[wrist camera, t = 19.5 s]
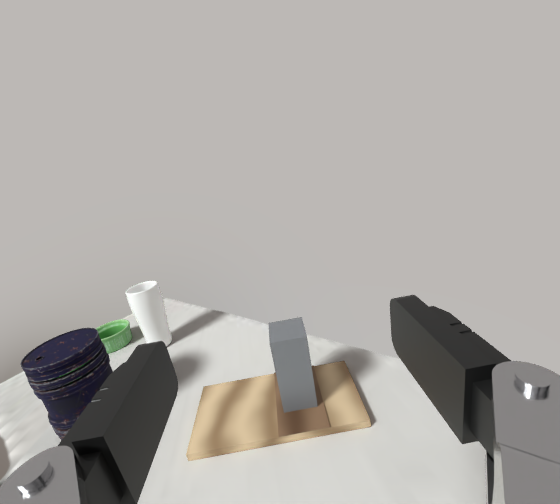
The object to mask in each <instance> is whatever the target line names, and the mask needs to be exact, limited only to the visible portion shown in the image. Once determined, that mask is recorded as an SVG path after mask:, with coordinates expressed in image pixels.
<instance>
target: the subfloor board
mask: <svg viewBox="0 0 560 504" xmlns="http://www.w3.org/2000/svg"><path fill="white" fill-rule="evenodd" d="M311 367H312V373H313V379H314V386H315V392H316V399H317V405H318V407H313V408H307V409H302V410H296V411H291V412H285V413H284V411H283V406H282V401H281V396H280V391H279V386H278V381H277V376H276V372H275V373H274V374H270V375H264V376H259V377H254V378H248V379H243V380H237V381H232V382H226V383H221V384H216V385H210V386H205V387H204V388H203V391H202V395H201V399H200V403H199V407H198V411H197V415H196V419H195V422H194V426H193V430H192V434H191V438H190V442H189V446H188V450H187V453H186V455H187V458H188V461H192V460H197V459H202V458H208V457H213V456H218V455H223V454H229V453H234V452H239V451H245V450H250V449H255V448H260V447H266V446H271V445H276V444H282V443H287V442H292V441H297V440H303V439H308V438H313V437H319V436H324V435H329V434H334V433H340V432H345V431H350V430H356V429H361V428H366V427H371V423H370V418H369V416H368V414H367V411H366V409H365V407H364V404H363V402H362V400H361V398H360V395H359V393H358V391H357V388H356V386H355V384H354V382H353V379H352V377H351V375H350V372H349V370H348V368H347V366H346V363H345V361H340V362H335V363H329V364H324V365H319V366H314V365H313V366H311Z"/></svg>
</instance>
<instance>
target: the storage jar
mask: <svg viewBox="0 0 560 504" xmlns="http://www.w3.org/2000/svg"><path fill="white" fill-rule="evenodd" d="M109 362H110V359H109V355H108V353H107V351H106V348H105V346H104V344H103V342H102V340H101V338H100V336H99V333H98V331H97V330H96V329H94V328H82V329H78V330H74V331H70V332H67V333H64V334H62V335H59V336H57V337H55V338H52V339H50V340H48V341H46V342H44V343H43V344H41V345H39V346H38V347H36V348H35V349H33V350H32V351H31V352H29V353H28V354H27V355H26V356H25V357H24V358H23V360H22V361H21V367H22V368H23V370H24V372H25V374H26V376H27V378H28V382H29V384H30V386H31V388H32V389H33V390H34V394H35V395H36V396H37V397H38V398H39V399H41V400H42V401H43V403H44V405H45V407H46V409H47V411H48V418H49V422H50V424H51V425H52V427H53V429H54V431H55V433H56V434H57V435H58V436H59V438H60V439H61V441H62V439H63V438H64V437H65V435H66V434H67V433H68V431H69V430H70V428H71V427H72V426H73V424H74V423H75V422H76V420H77V419H78V417H79V416H80V415H81V413H82V412H83V410H84V409H85V408H86V406H87V405H88V404H89V403H91V399H92V398H93V397H94V395H95V394H96V393H97V391H99V390H100V389H99V388H100V387H101V386H102V384H103V383H104V382H105V380H106V379H107V377H108V376H109V375H110V374H111V373H112V372H113V371H112V369H111V366H110V364H109Z"/></svg>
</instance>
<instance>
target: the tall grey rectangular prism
mask: <svg viewBox="0 0 560 504" xmlns="http://www.w3.org/2000/svg"><path fill="white" fill-rule="evenodd" d="M269 338H270V347H271V352H272V357H273V362H274V366H275V371H276V376H277V381H278V386H279V391H280V396H281V401H282V406H283V411H284V413H285V412H291V411H296V410H302V409H307V408H313V407H318V405H317V399H316V392H315V386H314V379H313V373H312V367H311V360H310V354H309V347H308V341H307V335H306V332H305V328H304V324H303V321H302V317H300V318H294V319H289V320H284V321H278V322H272V323H269Z"/></svg>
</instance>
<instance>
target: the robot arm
mask: <svg viewBox="0 0 560 504" xmlns="http://www.w3.org/2000/svg"><path fill="white" fill-rule="evenodd" d="M390 316H391V334H392V342H393V345H394V348H395V350H396V353H397V355H398V356H399V358H400V359H401V360H402V362H403V363H404V364H405V366H406V367H407V369H408V370H409V371H410V373H411V374H412V376H413V377H414V378H415V380H416V381H417V382H418V384H419V385H420V387H421V388H422V389H423V391H424V392H425V393H426V395H427V396H428V398H429V399H430V400H431V402H432V403H433V405H434V406H435V407H436V409H437V410H438V411H439V413H440V414H441V416H442V417H443V418H444V420H445V421H446V422H447V424H448V425H449V427H450V428H451V429H452V431H453V432H454V434H455V435H456V436H457V438H458V439H459V440H460V442H461V443H462V444H465V443H470V442H475V441H479V442H480V443H481V444H482V446H483V447H484V448H485V449H486V454H485V473H486V504H560V376H559V375H558V374H556V373H554V372H553V371H551V370H548V369H546V368H544V367H541V366H538V365H535V364H530V363H526V362H520V361H519V362H518V361H511V360H509V359H508V358H507V357H506V356H504V355H503V354H502V353H501V352H499V351H498V350H496V349H495V348H494V347H493V346H492V345H490V344H489V343H488V342H486V341H485V340H484V339H483V338H481V337H480V336H479V335H477V334H476V333H475V332H472V331H471V329H470V328H468V327H467V326H465V324H462V323H461V321H459V320H458V319H457V318H455V317H454V316H453V315H452V314H450V313H449V312H446V311H444V310H442V309H439V308H437V307H434V306H431V307H428V306H427V305H426V304H425V303H424V302H422V301H421V300H420V299H419V298H418V297H416V296H415V295H410V296H405V297H399V298H394V299H391V301H390ZM99 389H100V390H99V391H97V393H96V394H95V395H94V397H93V398H92V399H91V403H89V404H88V405H87V406H86V408H85V409H84V410H83V412H82V413H81V415H80V416H79V417H78V419H77V420H76V422H75V423H74V424H73V426H72V427H71V428H70V430H69V431H68V433H67V434H66V435H65V437H64V438H63V439H62V441H61V442H60V444H59V445H58V446H57V447H53V448H50V449H47V450H45V451H43V452H41V453H39V454H37V455H36V456H34V457H32V458H31V459H29V460H28V461H27V462H25V463H24V464H23V465H21V466H20V467H19V468H18V469H17V470H15V471H14V472H13V473H12V474H11V475H10V476H9V477H8V478H7V480H6V481H5V482H4V483H3V484H2V486H1V487H0V504H137V502H138V500H139V497H140V494H141V492H142V489H143V486H144V483H145V481H146V478H147V475H148V472H149V470H150V467H151V464H152V462H153V459H154V456H155V453H156V451H157V448H158V445H159V442H160V440H161V437H162V434H163V431H164V429H165V426H166V423H167V421H168V418H169V415H170V412H171V410H172V407H173V404H174V401H175V399H176V396H177V391H178V381H177V376H176V373H175V370H174V367H173V365H172V362H171V359H170V356H169V353H168V350H167V347H166V345H165V343H164V342H163V341H157V342H152V343H147V344H141V345H138V346H137V347H136V349H135V350H134V351H133V353H132V354H131V356H130V357H129V359H128V360H127V362H125V363H123V364H121V365H120V366H119V367H118V368H117V369H116V370H115V371H113V372H112V373H111V374H110V375H109V376H108V377H107V379H106V380H105V382H104V383H103V384H102V386H101V387H100V388H99Z"/></svg>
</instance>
